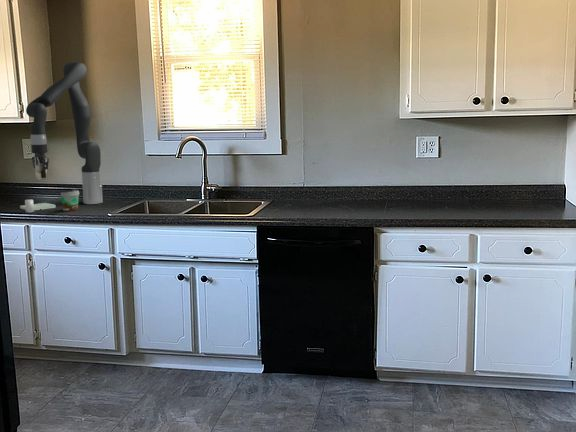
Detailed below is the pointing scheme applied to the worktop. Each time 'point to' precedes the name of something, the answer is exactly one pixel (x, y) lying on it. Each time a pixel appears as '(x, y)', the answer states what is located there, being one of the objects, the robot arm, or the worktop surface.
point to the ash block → (39, 172)
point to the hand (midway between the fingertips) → (41, 177)
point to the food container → (70, 200)
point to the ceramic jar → (29, 205)
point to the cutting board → (40, 206)
